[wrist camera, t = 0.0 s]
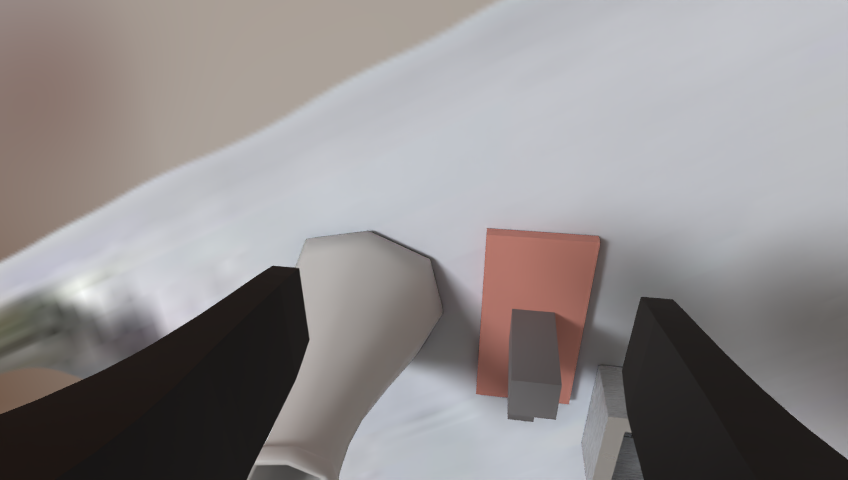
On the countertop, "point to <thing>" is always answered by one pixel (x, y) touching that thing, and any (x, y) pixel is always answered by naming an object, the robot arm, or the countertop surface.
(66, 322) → the countertop surface
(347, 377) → the flask
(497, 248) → the keeper hook
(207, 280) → the countertop surface
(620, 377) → the link
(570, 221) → the countertop surface
